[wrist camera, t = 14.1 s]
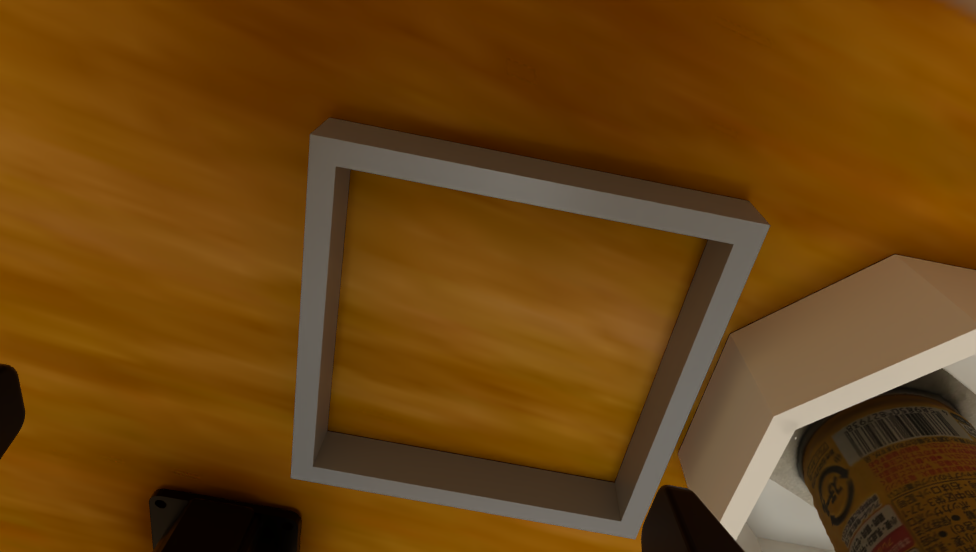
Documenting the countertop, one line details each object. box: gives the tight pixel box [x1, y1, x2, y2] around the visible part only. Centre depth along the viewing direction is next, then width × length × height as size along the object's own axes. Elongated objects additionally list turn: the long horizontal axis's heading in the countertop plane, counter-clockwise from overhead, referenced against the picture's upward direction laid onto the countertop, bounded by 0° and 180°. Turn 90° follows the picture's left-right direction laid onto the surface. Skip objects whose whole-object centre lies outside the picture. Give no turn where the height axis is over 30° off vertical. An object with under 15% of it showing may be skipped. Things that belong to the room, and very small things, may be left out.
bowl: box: [678, 254, 976, 552], centre depth 22 cm, size 14×14×4 cm
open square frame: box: [291, 118, 770, 539], centre depth 22 cm, size 14×14×2 cm
